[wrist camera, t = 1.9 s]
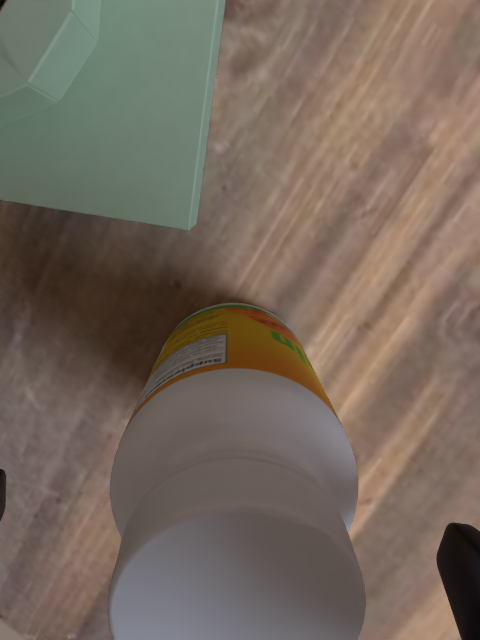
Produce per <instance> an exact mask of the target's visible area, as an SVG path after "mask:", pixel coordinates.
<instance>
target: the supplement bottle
mask: <svg viewBox="0 0 480 640" xmlns="http://www.w3.org/2000/svg"><path fill="white" fill-rule="evenodd" d="M357 498H358V473H357V466H356V462H355V458H354V454H353V451H352V448H351V446H350V443H349V441H348V438H347V436H346V433H345V431H344V429H343V426H342V424H341V422H340V421H339V419H338V417H337V415H336V413H335V411H334V409H333V407H332V405H331V403H330V401H329V399H328V397H327V395H326V393H325V391H324V389H323V387H322V385H321V383H320V381H319V379H318V377H317V375H316V373H315V371H314V370H313V368H312V366H311V364H310V362H309V360H308V358H307V356H306V354H305V352H304V350H303V348H302V346H301V344H300V342H299V340H298V339H297V337H296V336H295V334H294V333H293V331H292V330H291V329H290V328H289V327H288V326H287V325H286V324H285V323H284V322H283V321H282V320H281V319H280V318H278V317H277V316H275V315H274V314H272V313H271V312H269V311H267V310H264V309H262V308H260V307H257V306H253V305H249V304H244V303H223V304H217V305H213V306H210V307H206V308H204V309H201V310H199V311H197V312H195V313H193V314H192V315H190V316H188V317H187V318H186V319H184V320H183V321H182V322H181V323H180V324H179V325H178V326H177V327H176V328H175V329H174V330H173V332H172V333H171V334H170V336H169V337H168V339H167V340H166V342H165V343H164V345H163V347H162V349H161V351H160V353H159V356H158V358H157V360H156V362H155V365H154V367H153V369H152V371H151V373H150V376H149V378H148V380H147V382H146V385H145V387H144V389H143V391H142V394H141V396H140V398H139V400H138V402H137V405H136V407H135V409H134V412H133V414H132V416H131V418H130V421H129V422H128V425H127V427H126V429H125V431H124V434H123V436H122V438H121V441H120V443H119V447H118V450H117V452H116V455H115V459H114V463H113V467H112V472H111V480H110V499H111V506H112V512H113V516H114V519H115V522H116V525H117V528H118V531H119V533H120V535H121V537H122V540H121V545H120V550H119V554H118V558H117V561H116V565H115V568H114V572H113V576H112V580H111V584H110V588H109V594H108V622H109V626H110V630H111V634H112V637H113V640H357V639H358V636H359V634H360V631H361V629H362V625H363V621H364V615H365V607H366V596H365V587H364V582H363V577H362V573H361V570H360V567H359V564H358V561H357V558H356V555H355V552H354V549H353V546H352V543H351V540H350V537H349V534H348V531H349V528H350V526H351V524H352V521H353V518H354V515H355V511H356V505H357Z"/></svg>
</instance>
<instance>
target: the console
mask: <svg viewBox="0 0 480 640" xmlns="http://www.w3.org/2000/svg"><path fill="white" fill-rule="evenodd" d="M225 2H226V0H0V200H2V201H8V202H15V203H21V204H27V205H33V206H39V207H46V208H52V209H58V210H64V211H70V212H77V213H83V214H89V215H95V216H101V217H108V218H114V219H120V220H126V221H132V222H139V223H145V224H151V225H157V226H163V227H170V228H176V229H182V230H190V229H191V228H192V227H193V226H195V225H196V223H197V216H198V208H199V201H200V193H201V185H202V178H203V170H204V162H205V155H206V147H207V139H208V132H209V124H210V117H211V109H212V101H213V94H214V86H215V78H216V71H217V63H218V55H219V48H220V40H221V33H222V25H223V17H224V10H225Z"/></svg>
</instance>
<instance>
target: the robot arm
mask: <svg viewBox="0 0 480 640" xmlns="http://www.w3.org/2000/svg"><path fill="white" fill-rule="evenodd" d="M5 502H6V474H5V471H4V470H2V469H0V521H1V519H2V516H3V514H4V510H5ZM437 566H438V570H439V573H440V576H441V579H442V582H443V585H444V588H445V591H446V594H447V597H448V600H449V603H450V606H451V609H452V612H453V615H454V618H455V621H456V624H457V627H458V630H459V633H460V636H461V639H462V640H480V531H478V530H477V529H476V528H474V527H473V526H471V525H468V524H461V523H450V524H448V525H447V527H446V529H445V532H444V535H443V538H442V541H441V543H440V546H439V549H438V552H437Z"/></svg>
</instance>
